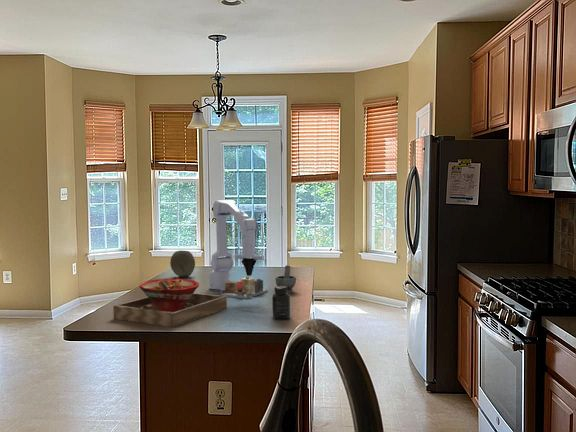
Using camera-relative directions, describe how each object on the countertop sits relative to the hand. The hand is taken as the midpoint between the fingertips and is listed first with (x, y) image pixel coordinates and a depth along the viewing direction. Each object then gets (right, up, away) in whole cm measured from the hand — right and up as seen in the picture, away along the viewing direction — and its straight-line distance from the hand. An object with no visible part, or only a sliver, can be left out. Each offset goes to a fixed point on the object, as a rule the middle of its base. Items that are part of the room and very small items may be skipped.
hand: (249, 275), depth 242 cm
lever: (-4, -9, +3) cm, 10 cm away
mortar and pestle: (+17, -10, +16) cm, 25 cm away
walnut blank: (-9, -10, +15) cm, 20 cm away
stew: (-30, -13, -28) cm, 43 cm away
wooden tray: (-29, -12, -27) cm, 41 cm away
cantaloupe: (-41, -8, +60) cm, 73 cm away
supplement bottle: (+15, -12, -37) cm, 41 cm away
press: (0, -10, +12) cm, 15 cm away
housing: (-2, -8, +13) cm, 15 cm away
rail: (-7, -10, +4) cm, 13 cm away
